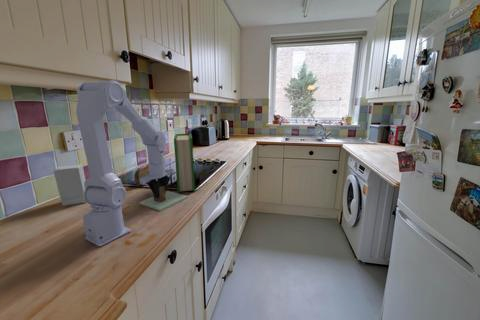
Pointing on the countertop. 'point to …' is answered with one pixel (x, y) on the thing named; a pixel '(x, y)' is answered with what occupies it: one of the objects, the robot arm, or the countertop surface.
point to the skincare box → (70, 184)
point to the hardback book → (184, 162)
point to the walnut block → (161, 194)
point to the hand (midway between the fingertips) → (159, 196)
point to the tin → (141, 174)
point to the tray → (170, 200)
